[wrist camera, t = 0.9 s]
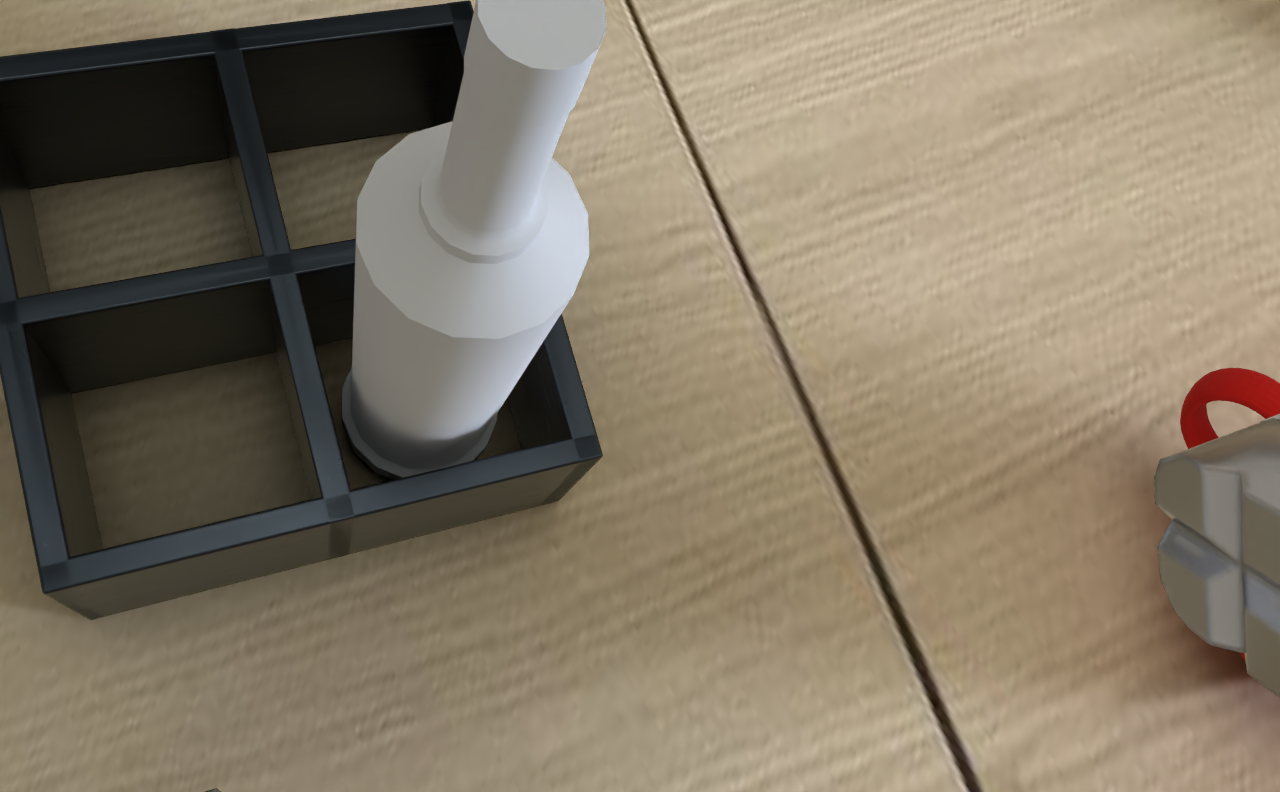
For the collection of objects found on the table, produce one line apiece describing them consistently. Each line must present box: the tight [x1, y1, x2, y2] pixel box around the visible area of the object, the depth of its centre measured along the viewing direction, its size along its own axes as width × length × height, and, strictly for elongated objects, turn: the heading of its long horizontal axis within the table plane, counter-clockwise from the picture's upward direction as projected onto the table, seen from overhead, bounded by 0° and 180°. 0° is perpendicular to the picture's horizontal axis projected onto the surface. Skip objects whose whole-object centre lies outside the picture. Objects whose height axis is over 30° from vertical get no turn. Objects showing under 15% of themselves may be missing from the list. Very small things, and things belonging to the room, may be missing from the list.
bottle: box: [342, 0, 607, 480], centre depth 31 cm, size 5×5×25 cm
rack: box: [0, 1, 603, 620], centre depth 39 cm, size 15×15×7 cm
